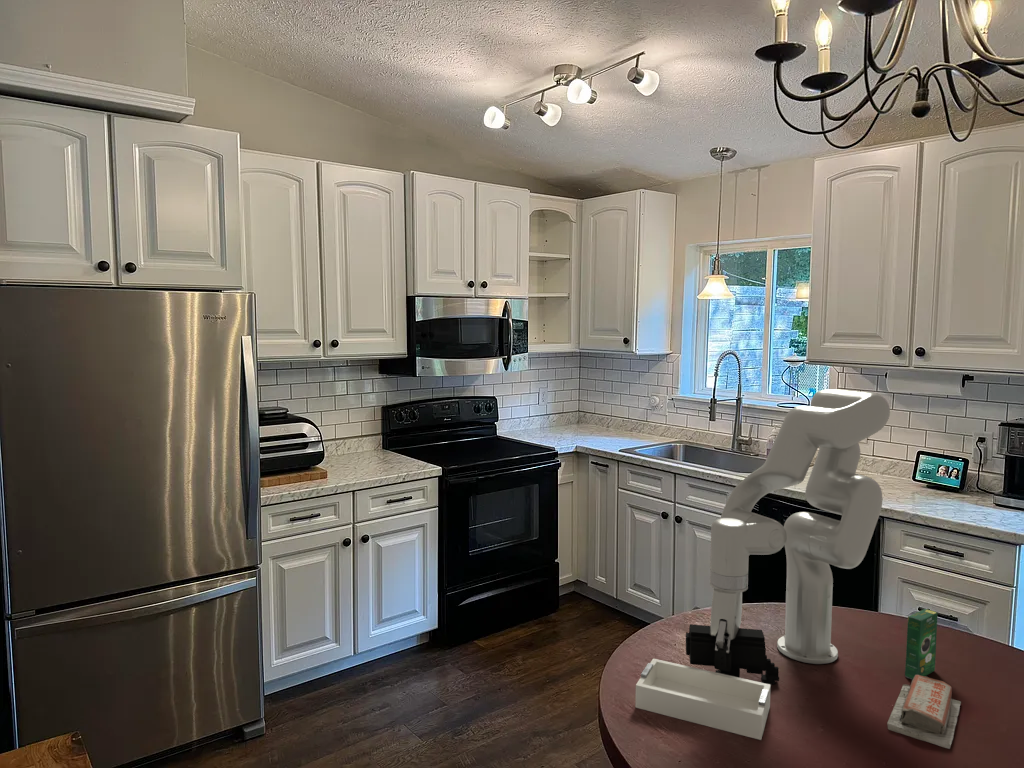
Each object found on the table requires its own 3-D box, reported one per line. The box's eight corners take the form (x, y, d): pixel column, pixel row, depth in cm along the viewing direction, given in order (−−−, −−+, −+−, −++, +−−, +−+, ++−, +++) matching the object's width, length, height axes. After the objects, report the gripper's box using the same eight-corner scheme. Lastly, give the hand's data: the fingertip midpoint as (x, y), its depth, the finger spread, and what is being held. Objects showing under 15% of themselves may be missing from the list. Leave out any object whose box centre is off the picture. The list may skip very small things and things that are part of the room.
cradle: (652, 679, 143) (653, 655, 142) (770, 707, 132) (770, 681, 132) (635, 707, 132) (635, 681, 132) (761, 740, 122) (762, 712, 121)
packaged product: (903, 667, 139) (962, 683, 132) (902, 690, 139) (960, 707, 133) (887, 706, 124) (952, 725, 118) (886, 731, 125) (950, 752, 119)
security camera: (780, 690, 138) (782, 642, 137) (686, 681, 142) (687, 634, 141) (775, 673, 145) (776, 627, 144) (685, 665, 149) (685, 621, 148)
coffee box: (921, 665, 148) (924, 606, 147) (936, 671, 146) (939, 611, 145) (903, 676, 144) (906, 616, 143) (918, 682, 141) (920, 620, 140)
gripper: (718, 563, 151) (716, 640, 153) (701, 590, 136) (699, 675, 137) (754, 569, 148) (751, 647, 149) (740, 596, 132) (738, 683, 134)
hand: (726, 660), depth 143 cm, fingers closed on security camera, 8 cm apart
